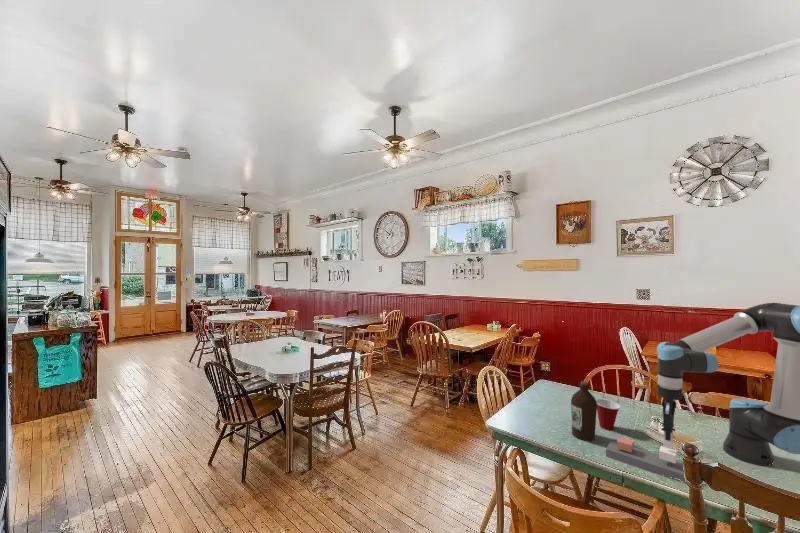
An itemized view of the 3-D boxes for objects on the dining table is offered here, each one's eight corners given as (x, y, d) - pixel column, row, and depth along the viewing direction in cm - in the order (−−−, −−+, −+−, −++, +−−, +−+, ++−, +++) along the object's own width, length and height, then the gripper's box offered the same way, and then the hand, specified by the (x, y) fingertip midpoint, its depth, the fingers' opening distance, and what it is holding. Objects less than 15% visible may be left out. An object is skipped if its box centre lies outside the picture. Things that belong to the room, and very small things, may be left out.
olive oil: (585, 429, 169) (586, 377, 169) (601, 440, 159) (603, 385, 158) (565, 431, 167) (566, 378, 167) (581, 442, 157) (582, 386, 156)
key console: (688, 471, 136) (688, 464, 136) (686, 483, 128) (686, 475, 128) (611, 446, 153) (611, 440, 153) (605, 456, 146) (605, 449, 146)
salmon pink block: (633, 447, 146) (633, 440, 146) (631, 452, 142) (631, 445, 142) (619, 443, 149) (619, 436, 149) (617, 448, 145) (617, 441, 145)
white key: (676, 458, 136) (677, 450, 136) (675, 463, 132) (675, 455, 132) (660, 453, 140) (660, 445, 139) (658, 458, 136) (659, 450, 136)
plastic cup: (621, 434, 164) (622, 409, 164) (594, 429, 169) (595, 404, 169) (618, 424, 174) (619, 400, 174) (593, 420, 179) (594, 396, 178)
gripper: (659, 380, 143) (658, 437, 143) (655, 388, 133) (653, 450, 134) (683, 384, 138) (682, 444, 138) (680, 393, 128) (678, 458, 129)
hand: (667, 447), depth 136 cm, fingers closed
